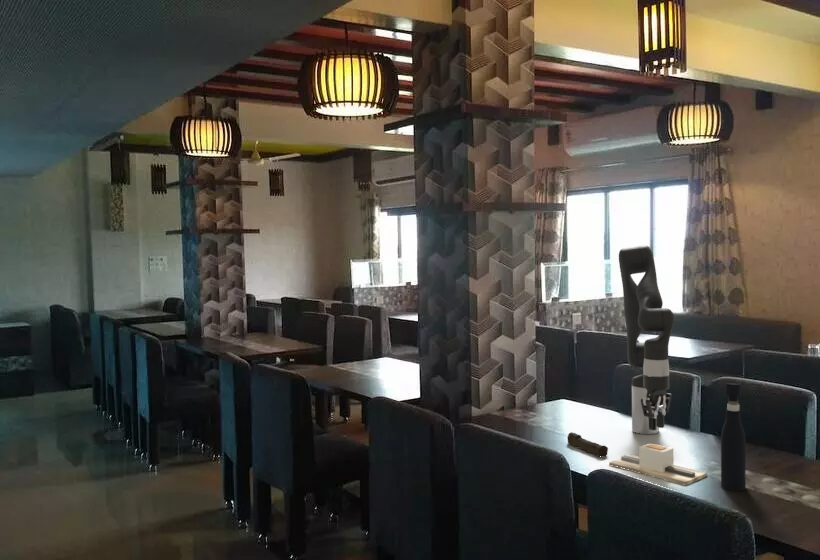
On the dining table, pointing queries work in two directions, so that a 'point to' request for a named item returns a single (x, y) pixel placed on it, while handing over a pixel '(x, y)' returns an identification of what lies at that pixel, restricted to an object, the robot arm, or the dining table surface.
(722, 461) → the wine bottle
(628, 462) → the rail board
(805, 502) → the dining table surface
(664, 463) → the block
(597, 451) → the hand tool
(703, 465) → the dining table surface
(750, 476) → the dining table surface
